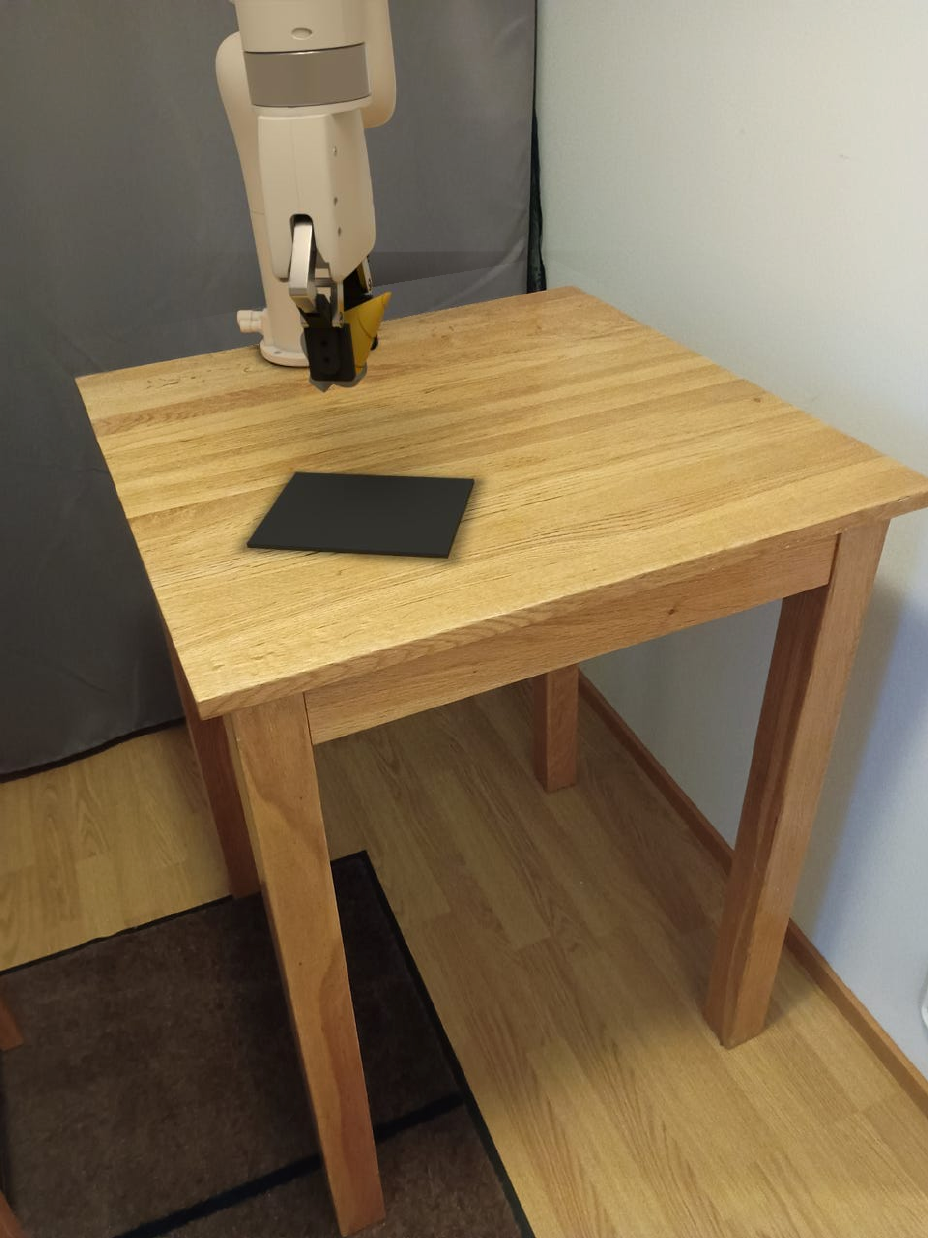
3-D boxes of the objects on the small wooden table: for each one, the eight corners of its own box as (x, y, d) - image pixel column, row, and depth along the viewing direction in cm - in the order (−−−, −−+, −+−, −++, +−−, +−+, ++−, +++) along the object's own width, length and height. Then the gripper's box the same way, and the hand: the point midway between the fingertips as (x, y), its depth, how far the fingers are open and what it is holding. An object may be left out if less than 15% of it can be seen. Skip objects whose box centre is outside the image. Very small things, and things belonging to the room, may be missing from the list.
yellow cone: (332, 368, 73) (412, 281, 67) (342, 420, 70) (427, 334, 65) (274, 342, 69) (354, 248, 64) (283, 395, 67) (367, 302, 61)
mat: (247, 547, 72) (246, 543, 72) (296, 475, 82) (295, 471, 82) (447, 558, 70) (447, 553, 69) (474, 482, 79) (474, 478, 79)
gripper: (295, 67, 65) (331, 324, 76) (197, 104, 51) (257, 410, 62) (399, 63, 64) (420, 325, 74) (326, 99, 50) (364, 413, 61)
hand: (345, 361), depth 68 cm, fingers closed on yellow cone, 5 cm apart
